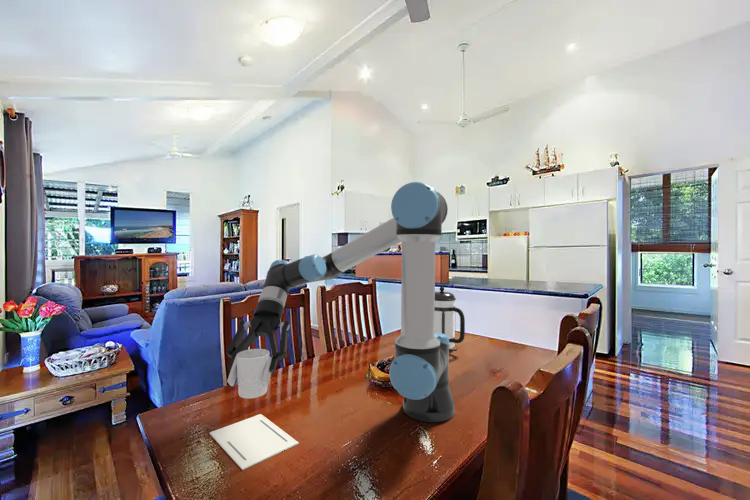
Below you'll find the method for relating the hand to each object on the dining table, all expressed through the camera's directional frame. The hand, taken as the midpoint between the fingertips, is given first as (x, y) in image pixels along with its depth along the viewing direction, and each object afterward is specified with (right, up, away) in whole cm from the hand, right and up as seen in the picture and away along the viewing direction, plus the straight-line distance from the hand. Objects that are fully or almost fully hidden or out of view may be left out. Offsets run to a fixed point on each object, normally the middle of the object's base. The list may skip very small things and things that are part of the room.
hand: (247, 384), depth 81 cm
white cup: (0, -4, +3) cm, 5 cm away
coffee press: (+64, -15, +78) cm, 102 cm away
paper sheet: (0, -15, +3) cm, 15 cm away
